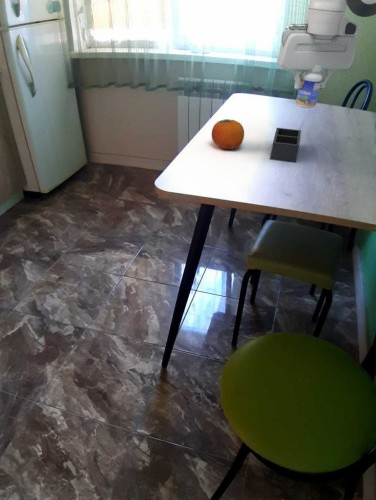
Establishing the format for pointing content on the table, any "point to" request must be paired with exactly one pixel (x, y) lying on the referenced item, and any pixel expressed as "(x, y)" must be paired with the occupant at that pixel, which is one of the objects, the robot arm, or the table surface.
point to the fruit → (228, 134)
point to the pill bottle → (309, 88)
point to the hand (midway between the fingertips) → (309, 88)
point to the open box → (285, 145)
